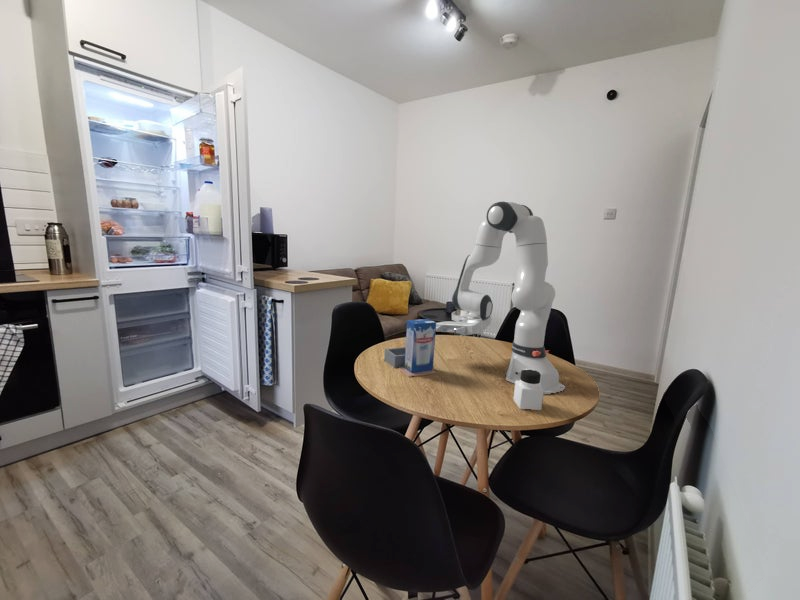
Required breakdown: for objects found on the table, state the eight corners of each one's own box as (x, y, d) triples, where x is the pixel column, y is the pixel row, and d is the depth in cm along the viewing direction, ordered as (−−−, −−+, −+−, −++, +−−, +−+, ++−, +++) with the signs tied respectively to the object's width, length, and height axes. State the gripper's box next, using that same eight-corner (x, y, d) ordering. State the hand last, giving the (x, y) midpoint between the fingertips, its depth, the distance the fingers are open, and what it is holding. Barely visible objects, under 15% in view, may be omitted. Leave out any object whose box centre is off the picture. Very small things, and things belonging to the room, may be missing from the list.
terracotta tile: (435, 373, 139) (435, 371, 139) (408, 377, 133) (409, 375, 133) (423, 365, 147) (423, 364, 147) (398, 369, 141) (398, 367, 141)
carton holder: (423, 364, 149) (424, 353, 148) (394, 368, 142) (395, 356, 141) (412, 356, 157) (412, 346, 156) (384, 360, 151) (384, 349, 150)
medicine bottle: (541, 410, 112) (546, 375, 110) (519, 409, 112) (523, 374, 110) (533, 400, 119) (538, 367, 117) (512, 399, 119) (516, 366, 117)
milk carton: (425, 365, 146) (428, 318, 142) (432, 370, 140) (436, 322, 137) (404, 367, 141) (406, 320, 138) (411, 373, 136) (414, 323, 132)
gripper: (445, 317, 158) (426, 321, 148) (485, 318, 143) (466, 323, 134) (446, 330, 158) (427, 336, 148) (486, 333, 144) (467, 339, 134)
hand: (446, 330), depth 141 cm, fingers open, 8 cm apart
